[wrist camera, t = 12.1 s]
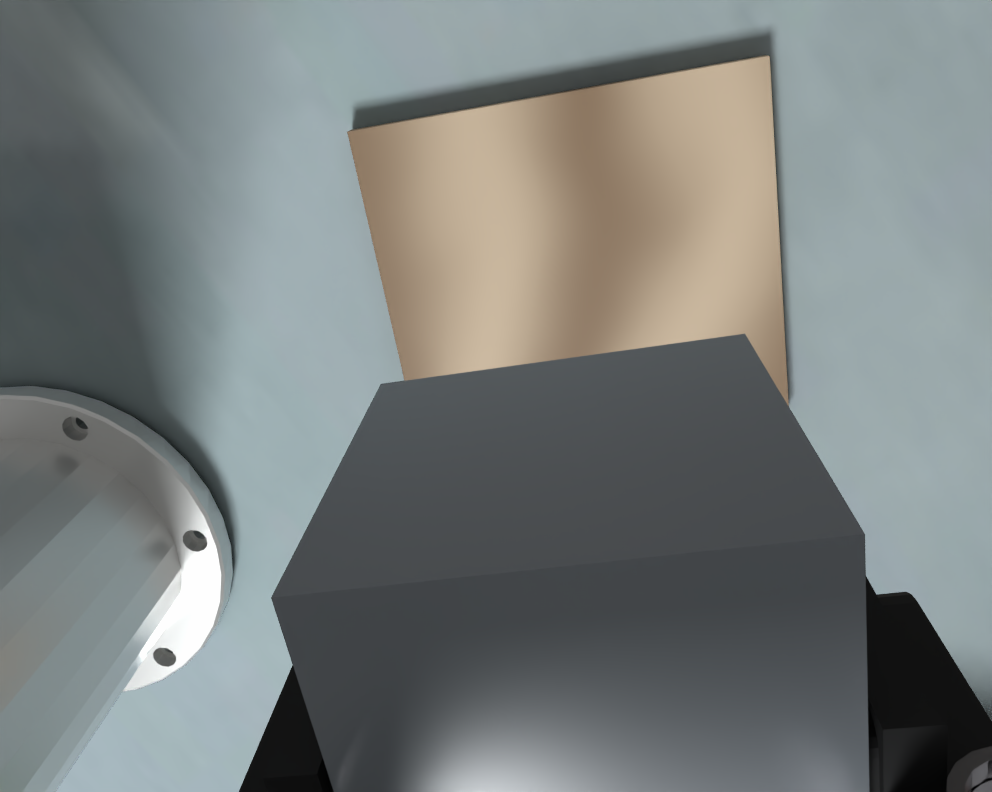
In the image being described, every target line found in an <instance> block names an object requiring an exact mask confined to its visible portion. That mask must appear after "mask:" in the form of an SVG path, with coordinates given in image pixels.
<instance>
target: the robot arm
mask: <svg viewBox="0 0 992 792" xmlns="http://www.w3.org/2000/svg"><path fill="white" fill-rule="evenodd" d="M232 576H233V568H232V553H231V544H230V541H229V537H228V534H227V530H226V527H225V523H224V519H223V517H222V515H221V513H220V511H219V509H218V507H217V505H216V503H215V501H214V499H213V497H212V495H211V493H210V491H209V489H208V488H207V486H206V485H205V484H204V482H203V481H202V480H201V478H200V477H199V476H198V474H197V473H196V472H195V470H194V469H193V468H192V466H191V465H190V463H189V462H188V461H187V460H186V459H185V458H184V457H183V456H182V455H181V454H179V453H178V452H177V451H176V450H175V449H174V448H173V447H172V446H171V445H170V444H169V443H168V442H167V441H166V440H165V439H164V438H163V437H161V436H160V435H158V434H157V433H156V432H154V431H153V430H151V429H150V428H148V427H147V426H146V425H144V424H143V423H141V422H140V421H139V420H137V419H136V418H134V417H132V416H130V415H128V414H126V413H124V412H122V411H120V410H118V409H116V408H114V407H112V406H110V405H108V404H106V403H104V402H102V401H99V400H96V399H93V398H89V397H86V396H83V395H80V394H76V393H73V392H70V391H67V390H59V389H52V388H44V387H37V386H20V387H0V792H56V791H57V789H58V788H59V786H60V785H61V783H62V782H63V780H64V779H65V777H66V776H67V774H68V773H69V771H70V770H71V768H72V767H73V765H74V764H75V762H76V761H77V759H78V758H79V756H80V755H81V753H82V752H83V750H84V749H85V747H86V746H87V744H88V743H89V741H90V740H91V738H92V737H93V735H94V734H95V732H96V731H97V729H98V728H99V726H100V725H101V723H102V722H103V720H104V719H105V717H106V716H107V714H108V713H109V711H110V710H111V708H112V707H113V705H114V704H115V702H116V701H117V699H118V698H119V696H120V695H121V693H122V692H125V691H131V690H136V689H140V688H143V687H146V686H148V685H151V684H154V683H156V682H159V681H161V680H164V679H166V678H167V677H169V676H170V675H172V674H173V673H175V672H177V671H178V670H180V669H181V668H183V667H184V666H186V665H187V664H188V663H189V662H190V661H191V660H192V659H193V658H194V657H195V656H196V655H197V654H198V653H199V652H200V651H201V649H202V648H203V647H204V646H205V644H206V643H207V641H208V640H209V638H210V636H211V635H212V633H213V632H214V630H215V628H216V627H217V625H218V623H219V621H220V619H221V617H222V614H223V612H224V610H225V607H226V605H227V603H228V600H229V595H230V589H231V582H232ZM866 626H867V682H868V738H869V792H992V721H991V720H990V718H989V717H988V715H987V713H986V712H985V710H984V709H983V707H982V705H981V704H980V702H979V700H978V699H977V697H976V696H975V694H974V692H973V691H972V689H971V688H970V686H969V684H968V683H967V681H966V679H965V678H964V676H963V675H962V673H961V671H960V670H959V668H958V667H957V665H956V663H955V662H954V660H953V658H952V657H951V655H950V654H949V652H948V650H947V649H946V647H945V646H944V644H943V642H942V641H941V639H940V637H939V636H938V634H937V633H936V631H935V629H934V628H933V626H932V625H931V623H930V621H929V620H928V618H927V617H926V615H925V613H924V612H923V610H922V608H921V607H920V605H919V604H918V602H917V601H916V600H915V598H914V597H913V596H912V594H910V593H907V592H899V593H889V594H879V595H876V593H875V592H874V590H873V588H872V586H871V584H870V583H869V581H868V579H867V577H866ZM239 792H334V791H333V788H332V785H331V781H330V778H329V775H328V772H327V769H326V766H325V763H324V760H323V757H322V754H321V750H320V747H319V744H318V741H317V738H316V735H315V732H314V729H313V726H312V723H311V719H310V716H309V713H308V710H307V707H306V704H305V701H304V698H303V695H302V692H301V688H300V685H299V682H298V679H297V676H296V673H295V670H294V667H293V666H292V668H291V670H290V673H289V675H288V677H287V680H286V682H285V685H284V687H283V689H282V692H281V694H280V696H279V699H278V701H277V703H276V706H275V708H274V710H273V713H272V715H271V717H270V720H269V722H268V724H267V727H266V729H265V732H264V734H263V736H262V739H261V741H260V743H259V746H258V748H257V750H256V753H255V755H254V757H253V760H252V762H251V764H250V767H249V769H248V772H247V774H246V776H245V779H244V781H243V783H242V786H241V788H240V790H239Z"/></svg>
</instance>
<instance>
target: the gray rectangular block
mask: <svg viewBox="0 0 992 792" xmlns="http://www.w3.org/2000/svg"><path fill="white" fill-rule="evenodd" d="M271 599H272V602H273V605H274V608H275V611H276V614H277V617H278V620H279V623H280V626H281V630H282V633H283V636H284V639H285V642H286V645H287V648H288V651H289V654H290V657H291V661H292V664H293V667H294V670H295V673H296V676H297V679H298V682H299V685H300V688H301V692H302V695H303V698H304V701H305V704H306V707H307V710H308V713H309V716H310V719H311V723H312V726H313V729H314V732H315V735H316V738H317V741H318V744H319V747H320V750H321V754H322V757H323V760H324V763H325V766H326V769H327V772H328V775H329V778H330V781H331V785H332V788H333V791H334V792H869V738H868V682H867V626H866V570H865V534H864V532H863V530H862V529H861V527H860V525H859V524H858V522H857V520H856V519H855V517H854V515H853V514H852V512H851V510H850V509H849V507H848V505H847V503H846V502H845V500H844V498H843V497H842V495H841V493H840V492H839V490H838V488H837V487H836V485H835V483H834V482H833V480H832V478H831V477H830V475H829V473H828V472H827V470H826V468H825V467H824V465H823V463H822V462H821V460H820V458H819V457H818V455H817V453H816V452H815V450H814V448H813V447H812V445H811V443H810V442H809V440H808V438H807V437H806V435H805V433H804V432H803V430H802V428H801V427H800V425H799V423H798V421H797V420H796V418H795V416H794V415H793V413H792V411H791V410H790V408H789V406H788V405H787V403H786V401H785V400H784V398H783V396H782V395H781V393H780V391H779V390H778V388H777V386H776V385H775V383H774V381H773V380H772V378H771V376H770V375H769V373H768V371H767V370H766V368H765V366H764V365H763V363H762V361H761V360H760V358H759V356H758V355H757V353H756V351H755V350H754V348H753V346H752V345H751V343H750V341H749V340H748V338H747V336H746V334H739V335H732V336H724V337H717V338H710V339H703V340H695V341H688V342H681V343H674V344H666V345H659V346H652V347H645V348H638V349H630V350H623V351H616V352H609V353H601V354H594V355H587V356H580V357H572V358H565V359H558V360H551V361H544V362H536V363H529V364H522V365H515V366H507V367H500V368H493V369H486V370H478V371H471V372H464V373H457V374H450V375H442V376H435V377H428V378H421V379H413V380H406V381H399V382H392V383H384V384H381V385H380V387H379V389H378V391H377V393H376V395H375V397H374V398H373V400H372V402H371V404H370V406H369V408H368V410H367V412H366V414H365V416H364V418H363V420H362V422H361V424H360V426H359V428H358V430H357V432H356V434H355V435H354V437H353V439H352V441H351V443H350V445H349V447H348V449H347V451H346V453H345V455H344V457H343V459H342V461H341V463H340V465H339V467H338V469H337V471H336V472H335V474H334V476H333V478H332V480H331V482H330V484H329V486H328V488H327V490H326V492H325V494H324V496H323V498H322V500H321V502H320V504H319V506H318V508H317V509H316V511H315V513H314V515H313V517H312V519H311V521H310V523H309V525H308V527H307V529H306V531H305V533H304V535H303V537H302V539H301V541H300V543H299V545H298V547H297V548H296V550H295V552H294V554H293V556H292V558H291V560H290V562H289V564H288V566H287V568H286V570H285V572H284V574H283V576H282V578H281V580H280V582H279V584H278V585H277V587H276V589H275V591H274V593H273V595H272V597H271Z"/></svg>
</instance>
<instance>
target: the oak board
mask: <svg viewBox="0 0 992 792" xmlns="http://www.w3.org/2000/svg"><path fill="white" fill-rule="evenodd" d="M347 133H348V137H349V141H350V146H351V150H352V154H353V159H354V163H355V167H356V172H357V176H358V180H359V185H360V189H361V193H362V198H363V202H364V206H365V211H366V215H367V219H368V224H369V228H370V232H371V237H372V241H373V245H374V250H375V254H376V258H377V263H378V267H379V271H380V276H381V280H382V284H383V289H384V293H385V297H386V302H387V306H388V311H389V315H390V319H391V324H392V328H393V332H394V337H395V341H396V345H397V350H398V354H399V358H400V363H401V367H402V371H403V376H404V380H405V381H406V380H413V379H421V378H428V377H435V376H442V375H450V374H457V373H464V372H471V371H478V370H486V369H493V368H500V367H507V366H515V365H522V364H529V363H536V362H544V361H551V360H558V359H565V358H572V357H580V356H587V355H594V354H601V353H609V352H616V351H623V350H630V349H638V348H645V347H652V346H659V345H666V344H674V343H681V342H688V341H695V340H703V339H710V338H717V337H724V336H732V335H739V334H746V336H747V338H748V340H749V341H750V343H751V345H752V346H753V348H754V350H755V351H756V353H757V355H758V356H759V358H760V360H761V361H762V363H763V365H764V366H765V368H766V370H767V371H768V373H769V375H770V376H771V378H772V380H773V381H774V383H775V385H776V386H777V388H778V390H779V391H780V393H781V395H782V396H783V398H784V400H785V401H786V403H787V405H788V406H789V404H788V385H787V367H786V349H785V330H784V312H783V293H782V275H781V257H780V238H779V220H778V201H777V183H776V164H775V146H774V128H773V109H772V91H771V72H770V56H767V55H763V56H758V57H752V58H747V59H741V60H736V61H730V62H725V63H719V64H714V65H708V66H702V67H697V68H691V69H686V70H680V71H675V72H669V73H664V74H658V75H652V76H647V77H641V78H636V79H630V80H625V81H619V82H614V83H608V84H603V85H597V86H591V87H586V88H580V89H575V90H569V91H564V92H558V93H553V94H547V95H542V96H536V97H530V98H525V99H519V100H514V101H508V102H503V103H497V104H492V105H486V106H480V107H475V108H469V109H464V110H458V111H453V112H447V113H442V114H436V115H431V116H425V117H419V118H414V119H408V120H403V121H397V122H392V123H386V124H381V125H375V126H370V127H364V128H358V129H353V130H350V131H348V132H347Z"/></svg>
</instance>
